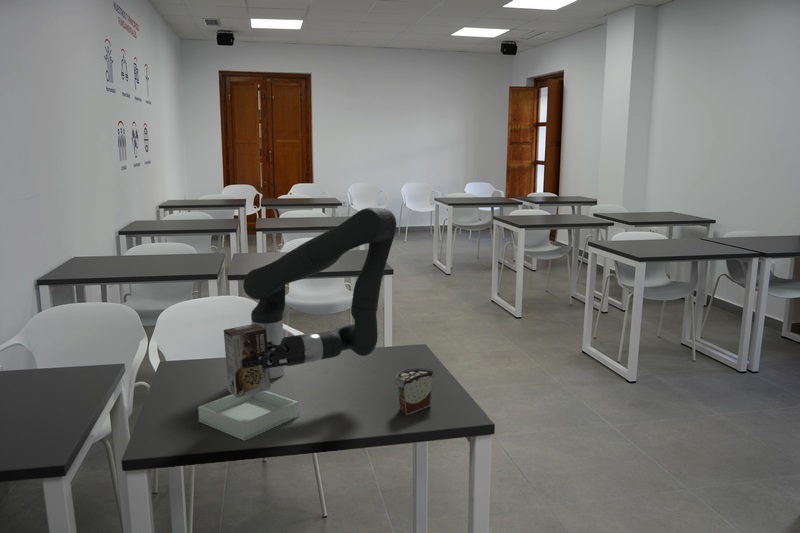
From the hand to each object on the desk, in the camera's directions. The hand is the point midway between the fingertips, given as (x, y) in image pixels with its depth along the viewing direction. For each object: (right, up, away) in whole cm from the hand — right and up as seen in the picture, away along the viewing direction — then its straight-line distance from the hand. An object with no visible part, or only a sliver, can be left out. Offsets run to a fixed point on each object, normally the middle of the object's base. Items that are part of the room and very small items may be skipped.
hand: (238, 359), depth 159 cm
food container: (+43, -15, +12) cm, 47 cm away
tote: (+2, -16, +4) cm, 16 cm away
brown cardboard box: (+2, -8, +3) cm, 9 cm away
